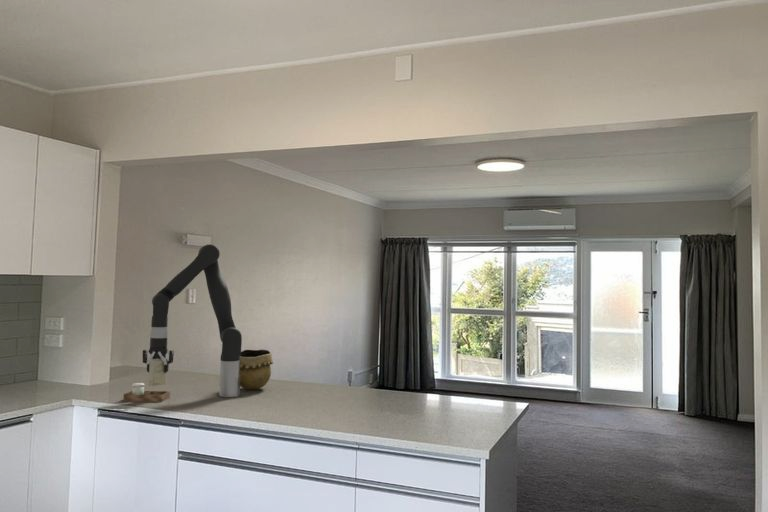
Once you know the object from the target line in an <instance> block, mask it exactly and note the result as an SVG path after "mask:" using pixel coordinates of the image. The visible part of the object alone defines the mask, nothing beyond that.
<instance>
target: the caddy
mask: <svg viewBox="0 0 768 512" xmlns="http://www.w3.org/2000/svg"><path fill="white" fill-rule="evenodd" d="M170 398H171V391H168V390H167V391H166V390H144V394H132V390H131V391H128V392H126V393H124V394H123V399H122V400H123V402H149V403H150V402H151V403H152V402H153V403H155V402H156V403H157V402H158V403H160V402H162V403H163V402H165V401H166V400H168V399H170Z"/></svg>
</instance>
